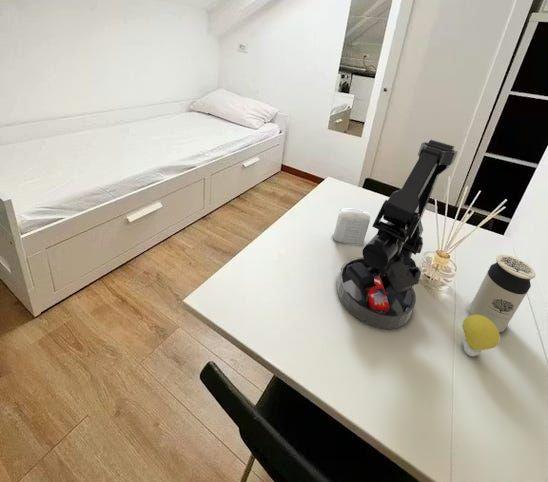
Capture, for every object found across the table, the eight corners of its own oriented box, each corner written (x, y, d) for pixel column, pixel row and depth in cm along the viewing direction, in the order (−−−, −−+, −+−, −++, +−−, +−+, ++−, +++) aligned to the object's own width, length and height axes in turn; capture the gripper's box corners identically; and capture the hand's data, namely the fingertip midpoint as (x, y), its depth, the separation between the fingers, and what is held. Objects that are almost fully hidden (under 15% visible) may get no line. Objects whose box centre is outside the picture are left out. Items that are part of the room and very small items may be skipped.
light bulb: (487, 373, 62) (506, 342, 59) (452, 354, 66) (468, 324, 62) (485, 348, 68) (503, 318, 64) (453, 331, 71) (468, 302, 67)
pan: (375, 262, 90) (378, 251, 89) (427, 314, 75) (432, 302, 73) (323, 278, 82) (326, 266, 81) (369, 340, 67) (374, 327, 65)
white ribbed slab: (362, 238, 101) (370, 208, 96) (364, 246, 97) (373, 215, 92) (332, 234, 101) (339, 204, 96) (333, 242, 97) (340, 211, 93)
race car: (389, 318, 72) (394, 307, 70) (367, 315, 72) (371, 303, 71) (378, 277, 84) (381, 267, 83) (359, 274, 84) (362, 264, 83)
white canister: (470, 300, 81) (496, 248, 73) (505, 318, 76) (536, 265, 69) (466, 318, 75) (494, 265, 68) (503, 339, 70) (537, 284, 63)
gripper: (383, 280, 61) (367, 330, 68) (442, 260, 69) (423, 306, 75) (350, 245, 70) (338, 292, 77) (406, 231, 78) (391, 275, 84)
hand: (374, 292), depth 78 cm, fingers closed on race car, 7 cm apart
